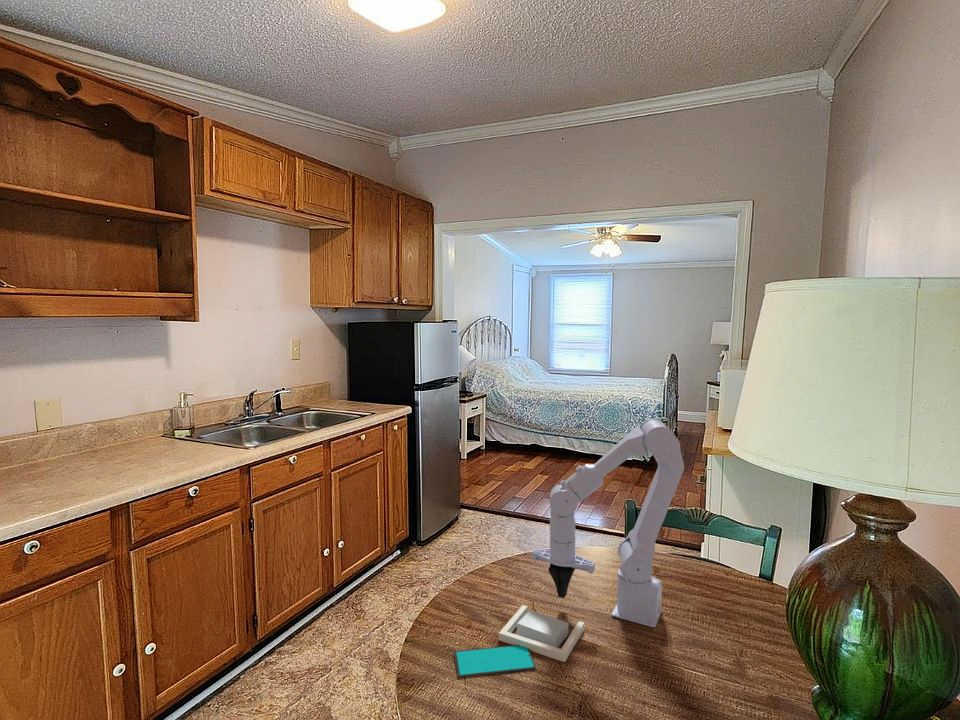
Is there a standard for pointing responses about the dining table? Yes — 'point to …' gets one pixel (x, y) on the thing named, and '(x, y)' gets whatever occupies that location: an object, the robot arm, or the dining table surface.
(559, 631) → the light gray box
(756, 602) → the dining table surface
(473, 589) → the dining table surface
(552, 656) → the cream u-shaped bracket
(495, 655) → the smartphone
